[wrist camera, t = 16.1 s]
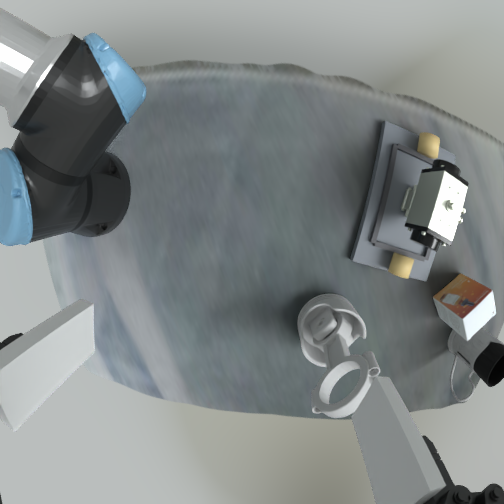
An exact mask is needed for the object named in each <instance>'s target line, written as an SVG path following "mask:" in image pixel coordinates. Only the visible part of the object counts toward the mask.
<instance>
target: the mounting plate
mask: <svg viewBox="0 0 504 504" xmlns="http://www.w3.org/2000/svg"><path fill="white" fill-rule="evenodd" d="M439 144H440V139H439V138H438V137H437V136H435V135H433V134H430V133H420V135H419V136H418V135H416V134H414V133H412V132H410V131H408V130H406V129H403V128H401V127H399V126H397V125H394V124H392V123H390V122H387V121H385V122H383V123H382V128H381V133H380V139H379V145H378V150H377V155H376V160H375V165H374V170H373V174H372V179H371V183H370V187H369V192H368V196H367V200H366V204H365V208H364V212H363V215H362V219H361V223H360V227H359V230H358V234H357V237H356V241H355V244H354V247H353V251H352V254H351V257H350V259H351V260H352V261H354V262H358V263H361V264H365V265H368V266H372V267H376V268H379V269H383V270H386V271H388V272H390V273H392V274H394V275H397V276H399V277H402V278H407V279H408V278H409V277H411V278H415V279H418V280H422V281H425V282H426V281H427V278H428V275H429V272H430V269H431V266H432V263H433V260H434V256H435V253H436V252H435V251H433V250H430V249H428V248H426V247H423V246H421V245H419V244H417V243H415V242H413V241H411V240H410V236H411V233H412V231H413V230H411V231H409V230H408V228H407V227H405V223H406V220H407V218H406V217H405V214H406V210H405V211H401V205H402V202H403V199H404V196H405V192H406V189H408V188H409V187H410V188H411V190H413V188H414V185H418V182H419V178H420V175H421V171H422V169H426V168H427V167H428V168H432V164H433V161H434V160H436V159H441V160H445V161H448V162H450V163H452V164H454V165H455V157H456V156H455V155H454V154H452V153H450V152H448V151H447V150H445V149H443V148H441V147H439Z"/></svg>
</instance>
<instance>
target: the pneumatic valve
mask: <svg viewBox="0 0 504 504" xmlns="http://www.w3.org/2000/svg"><path fill="white" fill-rule="evenodd" d="M467 188H468V182H467V181H465V180H464V179H463V178H461V177H460V169H459V168H458V167H457V166H456V165H454V164H452V163H450V162H448V161H445V160H441V159H436V160H434V161H433V164H432V168H428V167H427V168H426V169H422V171H421V175H420V178H419V182H418V185H414V188H413V190H411V188H410V187H409V188H408V189H406V192H405V196H404V199H403V202H402V205H401V211H405V210H406V214H405V217H406V218H407V220H406V223H405V227H407V228H408V230H409V231H411V230H413V231H412V233H411V236H410V240H411V241H413V242H415V243H417V244H419V245H421V246H423V247H426V248H428V249H430V250H433V251H435V252H437V250H438V248H439V245H440V243H442V244H441V245H443V246H445V245H446V244H447V245H450V246H451V243H452V240H453V237H454V234H455V231H456V228H457V225H458V222H459V223H460V224H461V223H462V222H463V219H462V218H461V217H460V215H461V213H462V214H465V212H466V210H465V209H464V208H463V204H464V200H465V196H466V192H467Z"/></svg>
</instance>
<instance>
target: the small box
mask: <svg viewBox="0 0 504 504" xmlns="http://www.w3.org/2000/svg"><path fill="white" fill-rule="evenodd" d="M433 300H434V302H435V305H436V308H437V311H438V314H439V317H440V318H441V319H442V320H443V321H444V322H445V323H447V324H448V325H449V326H450V327H451V328H452V329H454V330H455V331H456V332H457V333H458V334H459V335H460V336H462V337H463V338H464V339H465V340H466V341H468V340H469V339H470V338H471V337H472V336H473V335H474V334H475V333H476V332H477V331H478V330H479V329H481V328H482V327H483V326H484V325H485V324H486V323H487V322H488V321H489V320H490V319H491V318H492V317H493V316H494V315H495V314H496V309H495V302H494V296H493V291H492V290H491V289H489V288H488V287H486V286H484V285H482V284H480V283H478V282H476V281H474V280H473V279H471V278H469V277H467V276H465V275H463V274H461V273H460V274H459V275H458V276H457V277H456V278H455V279H454V280H453V281H451V282H450V283H449V284H448V285H447V286H445V287H444V288H443V289H442V290H441V291H439V292H438V293H437V294H435V295H434V296H433Z"/></svg>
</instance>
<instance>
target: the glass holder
mask: <svg viewBox="0 0 504 504" xmlns="http://www.w3.org/2000/svg"><path fill="white" fill-rule="evenodd" d="M448 349H449V351H450V352H452V353H453V354H454V355H455V359H454V364H453V367H452V371H451V375H450V388H451V391H452V394H453V396H454V397H455V399H457V400H458V401H460V402H464V401H466V400H468V399H469V398H470V397H471V396H472V395H473V393H474V388H475V387H474V383H473V382H472V381H471V379H470V376H471V375H472V374H473V373H475V374H477V375H478V376H479V377H480V378H481V379H482V380H483V381H484V382H485V383H486V384H487V385H488V386H489V387H492V386H495V385H496V384H498V383H499V382H500V381H501V380H502V379H503V378H504V344H503V343H501V341H499V340H498V339H497V338H495V337H494V336H493V335H491V334H490V333H489V332H487V331H486V330H485V329H483V328H481V329H479V330H478V331H477V332H476V333H475V334H474V335H473V336H472V337H471V338H470V339H469V340H468V341H466V340H465V339H464V338H463V337H462V336H460V335H459V334H458V333H457V332H456V331H455V330H454V329H453V330H452V331H451V333H450V336H449V339H448ZM457 356H458V357H459V358H460V359H461V360H462V361H463V362H464V363H465V364H466V365H467V366H468V367H469V368H470V369H471V370H472V371H471V372H470V374H469V376H468V380H469V381H470V383H471V384H472V392H471V394H470V395H469V396H468V397H467V398H465V399H462V400H461V399H458V398H457V397H456V395H455V394H454V391H453V387H452V377H453V372H454V368H455V365H456V361H457Z"/></svg>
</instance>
